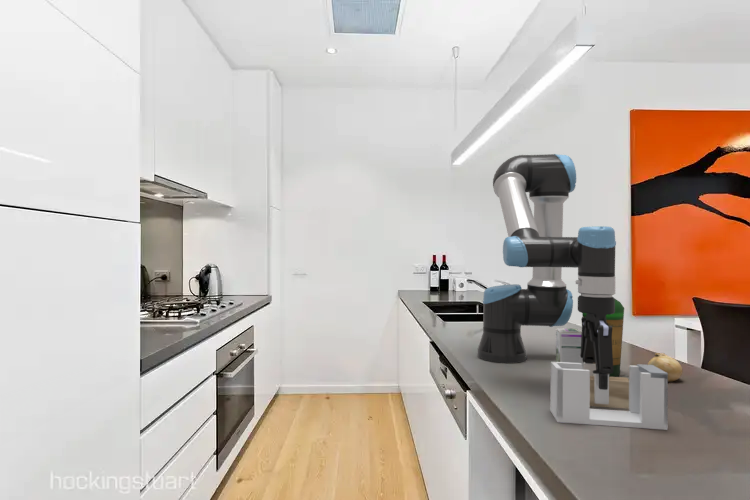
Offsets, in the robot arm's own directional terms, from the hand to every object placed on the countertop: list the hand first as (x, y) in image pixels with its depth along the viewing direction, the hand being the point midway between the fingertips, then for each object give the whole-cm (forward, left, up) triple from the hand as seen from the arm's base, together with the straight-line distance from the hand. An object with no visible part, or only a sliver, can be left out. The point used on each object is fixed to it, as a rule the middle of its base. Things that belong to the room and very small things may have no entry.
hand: (595, 397), depth 101 cm
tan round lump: (-25, +25, -2) cm, 35 cm away
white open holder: (+10, -1, -1) cm, 10 cm away
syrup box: (-12, -3, -2) cm, 12 cm away
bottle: (-27, +10, -2) cm, 29 cm away
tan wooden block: (0, 0, -2) cm, 2 cm away
